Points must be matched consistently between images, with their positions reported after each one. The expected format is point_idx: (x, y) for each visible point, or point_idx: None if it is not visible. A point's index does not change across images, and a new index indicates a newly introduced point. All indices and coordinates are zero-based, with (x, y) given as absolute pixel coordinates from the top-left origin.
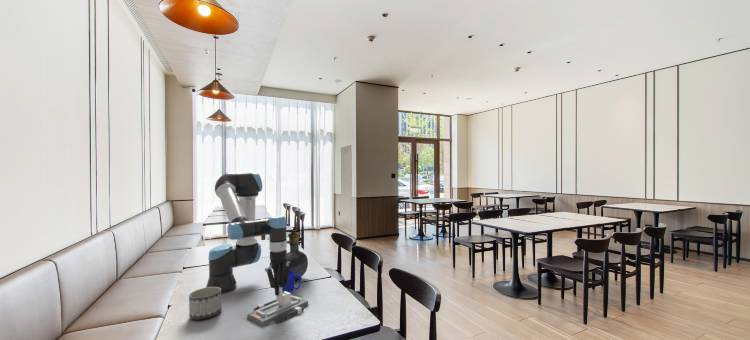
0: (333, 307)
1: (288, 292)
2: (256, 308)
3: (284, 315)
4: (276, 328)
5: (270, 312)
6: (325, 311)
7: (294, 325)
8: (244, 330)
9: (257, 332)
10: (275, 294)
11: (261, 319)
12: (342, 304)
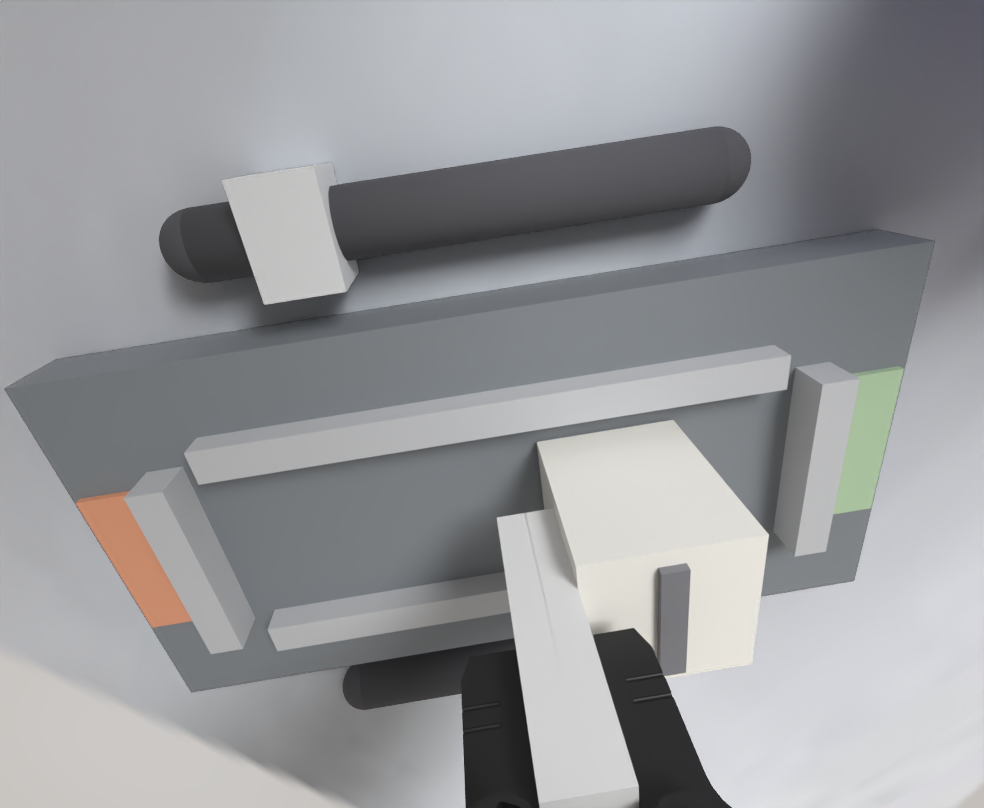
0: (881, 709)
1: (748, 625)
2: (202, 272)
3: (447, 694)
4: (317, 728)
5: (320, 626)
6: (784, 724)
7: (461, 761)
8: (8, 606)
9: (140, 699)
10: (466, 688)
11: (188, 648)
12: (965, 710)
